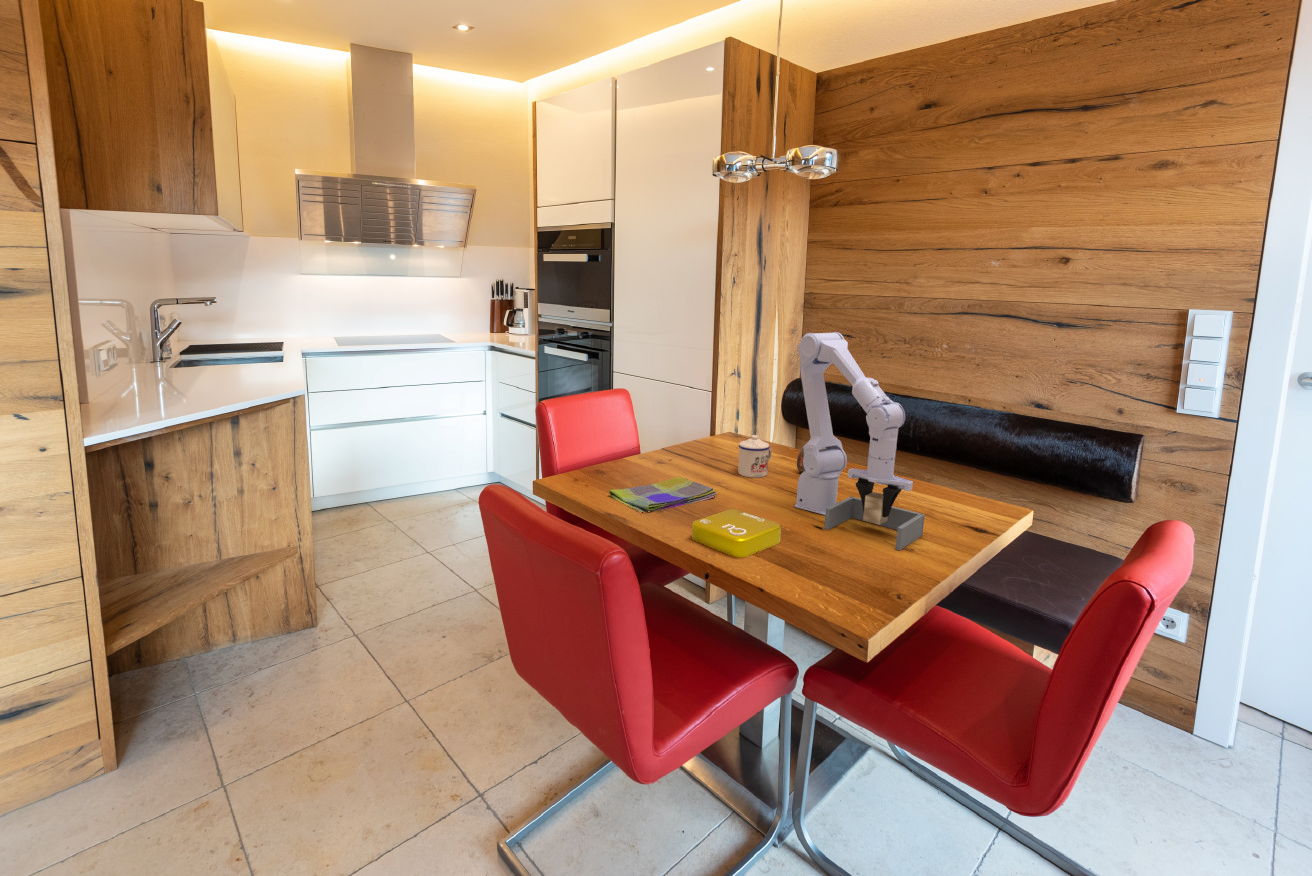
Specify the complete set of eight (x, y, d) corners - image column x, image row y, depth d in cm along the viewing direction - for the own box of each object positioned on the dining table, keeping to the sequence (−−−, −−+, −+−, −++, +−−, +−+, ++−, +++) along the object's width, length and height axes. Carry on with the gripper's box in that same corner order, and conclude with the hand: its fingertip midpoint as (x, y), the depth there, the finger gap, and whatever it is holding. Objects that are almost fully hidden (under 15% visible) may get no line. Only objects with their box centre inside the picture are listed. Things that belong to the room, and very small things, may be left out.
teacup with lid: (753, 480, 192) (755, 440, 190) (730, 472, 199) (732, 434, 196) (781, 473, 200) (783, 435, 197) (758, 466, 206) (760, 429, 204)
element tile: (783, 543, 148) (785, 522, 147) (739, 561, 138) (740, 539, 137) (732, 524, 158) (733, 505, 157) (687, 540, 149) (688, 519, 147)
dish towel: (606, 497, 177) (606, 487, 176) (680, 482, 191) (680, 473, 190) (643, 516, 163) (643, 505, 162) (719, 499, 177) (720, 489, 176)
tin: (817, 464, 210) (819, 438, 208) (827, 466, 208) (829, 439, 206) (794, 474, 199) (796, 446, 197) (804, 476, 197) (806, 448, 195)
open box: (824, 528, 155) (825, 508, 154) (849, 515, 164) (851, 496, 163) (899, 550, 144) (902, 528, 142) (922, 535, 153) (924, 514, 151)
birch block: (863, 520, 154) (865, 495, 152) (870, 516, 157) (873, 491, 155) (879, 524, 151) (882, 499, 150) (887, 520, 154) (889, 495, 153)
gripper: (843, 453, 152) (838, 510, 155) (906, 466, 143) (899, 526, 146) (857, 448, 157) (852, 503, 161) (919, 460, 148) (912, 518, 151)
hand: (875, 513), depth 154 cm, fingers closed on birch block, 4 cm apart
